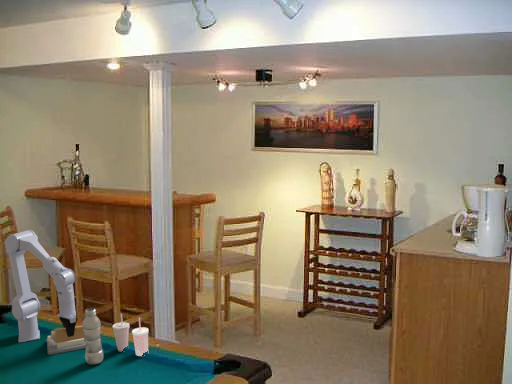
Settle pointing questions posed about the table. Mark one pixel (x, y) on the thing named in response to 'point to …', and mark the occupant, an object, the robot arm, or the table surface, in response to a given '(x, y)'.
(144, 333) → the beverage cup
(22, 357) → the table surface
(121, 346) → the smoothie
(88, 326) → the plastic bottle
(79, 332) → the wooden c-shaped bracket
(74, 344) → the stand
